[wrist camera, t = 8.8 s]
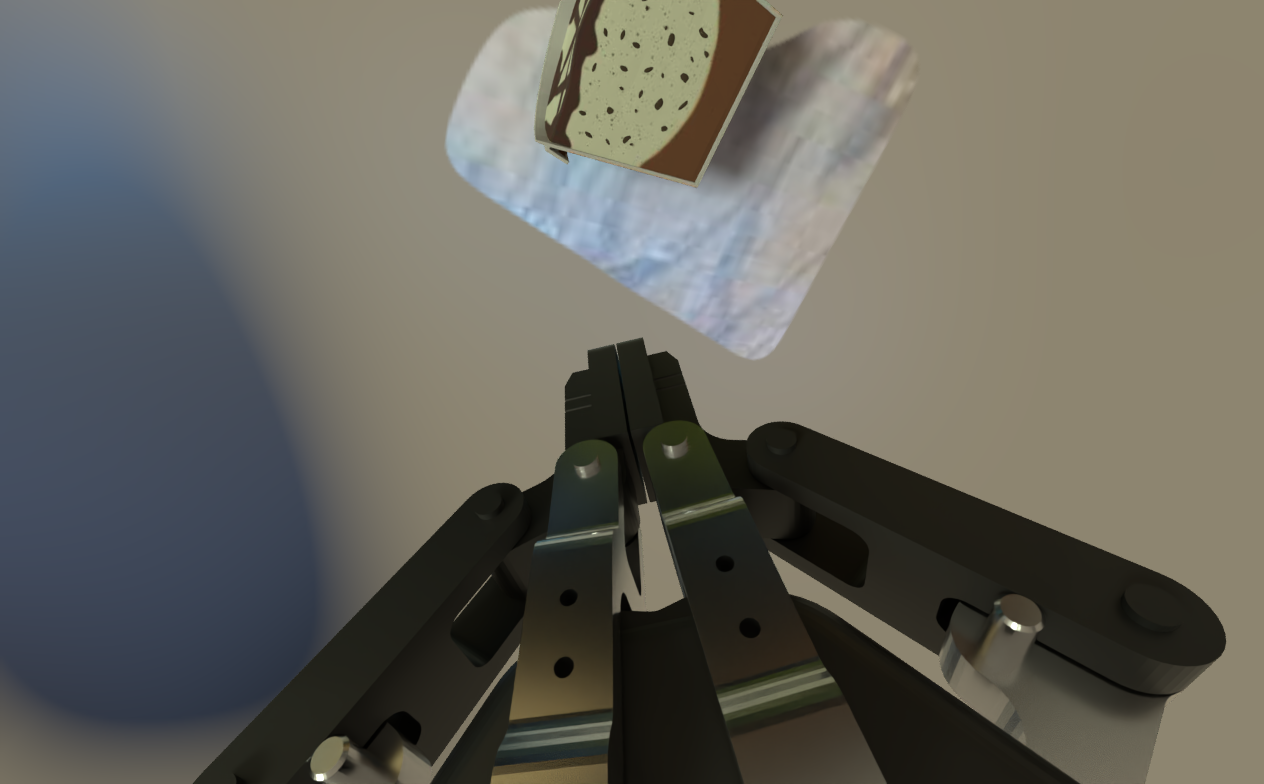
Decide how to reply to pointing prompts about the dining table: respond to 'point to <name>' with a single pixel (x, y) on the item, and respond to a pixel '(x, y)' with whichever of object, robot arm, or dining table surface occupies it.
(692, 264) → the dining table surface
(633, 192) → the dining table surface
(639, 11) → the food container
